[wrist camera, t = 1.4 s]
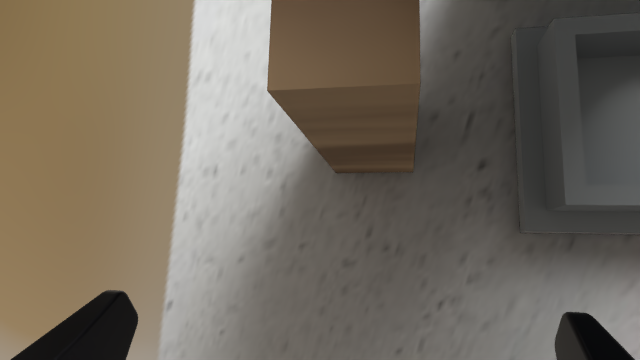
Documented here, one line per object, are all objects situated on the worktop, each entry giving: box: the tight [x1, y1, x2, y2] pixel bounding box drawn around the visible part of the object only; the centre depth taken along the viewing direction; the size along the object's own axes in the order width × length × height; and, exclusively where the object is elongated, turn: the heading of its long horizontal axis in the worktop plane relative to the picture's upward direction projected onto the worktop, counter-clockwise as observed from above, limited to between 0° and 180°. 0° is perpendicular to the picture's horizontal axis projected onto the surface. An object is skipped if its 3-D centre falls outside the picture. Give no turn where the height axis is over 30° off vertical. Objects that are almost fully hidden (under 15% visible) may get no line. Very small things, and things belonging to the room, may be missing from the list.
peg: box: [267, 0, 420, 173], centre depth 18 cm, size 4×4×12 cm
